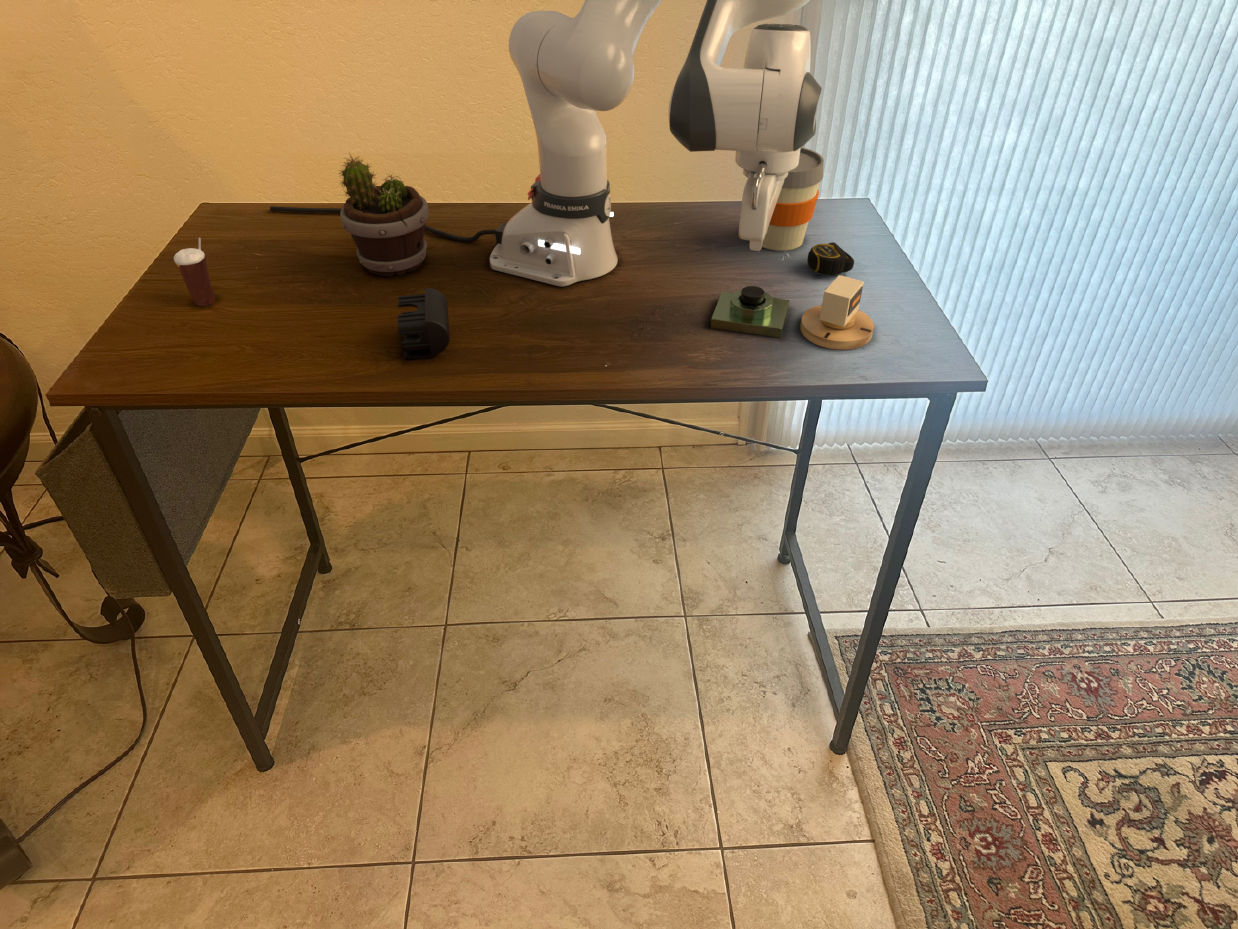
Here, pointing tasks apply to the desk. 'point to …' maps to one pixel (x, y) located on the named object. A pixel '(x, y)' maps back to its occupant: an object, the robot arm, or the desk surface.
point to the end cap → (424, 324)
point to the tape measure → (829, 259)
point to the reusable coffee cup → (795, 203)
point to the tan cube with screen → (841, 302)
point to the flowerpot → (383, 221)
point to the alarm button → (752, 296)
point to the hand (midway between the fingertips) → (758, 242)
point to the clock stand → (836, 331)
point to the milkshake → (195, 275)
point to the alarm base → (750, 315)
